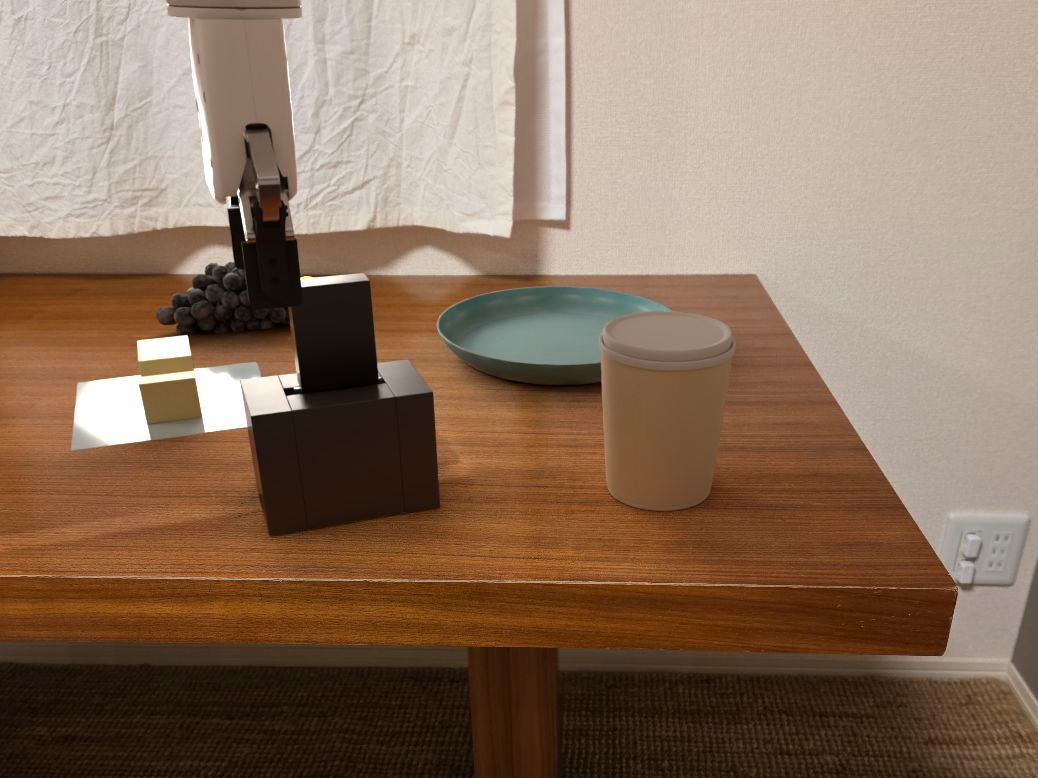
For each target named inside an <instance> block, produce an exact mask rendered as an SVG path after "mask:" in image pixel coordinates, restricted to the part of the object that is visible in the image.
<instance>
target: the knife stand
mask: <svg viewBox="0 0 1038 778" xmlns="http://www.w3.org/2000/svg"><path fill="white" fill-rule="evenodd" d="M377 366H378V377H382V382H383V384H376V385H368V386H360V387H353V388H345V389H337V390H329V391H322V392H314V393H306V394H298V395H295V394H294V388H296V387H300V386H299V384H298V380H297V372H295V373H288V374H279V375H269V376H262V377H260V378H252V379H244V380H240V385H241V391H242V397H243V404H244V410H245V416H246V422H247V427H246V429H247V434H248V440H249V446H250V453H251V458H252V465H253V472H254V477H255V483H256V487H257V491H258V495H257V496H258V499H259V502H260V506H261V511H262V514H263V517H264V521H265V525H266V529H267V532H268V536H269V537H274V536H281V535H286V534H287V535H288V534H292V533H299V532H304V531H305V532H306V531H308V530H316V529H322V528H328V527H333V526H340V525H345V524H351V523H358V522H363V521H368V520H374V519H375V520H376V519H381V518H387V517H392V516H398V515H404V514H409V513H416V512H422V511H428V510H434V509H439V508H441V498H440V497H441V496H440V480H439V464H438V463H439V462H438V449H437V448H438V447H437V430H436V416H435V415H436V414H435V399H434V398H435V397H434V391H433V390H432V389H431V387H430V386H429V384H428V383H427V381H425V379H424V378H423V377H422V375H421V374H420V373H419V371H418V369H416V367H415V366H414V364H413V363H412V362H411V360H410V359H400V360H393V361H391V360H390V361H385V362H377Z"/></svg>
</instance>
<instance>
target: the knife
mask: <svg viewBox="0 0 1038 778" xmlns="http://www.w3.org/2000/svg"><path fill="white" fill-rule="evenodd" d="M301 287H302V297H303V302H302V304H301V305H299V306H294V307H288V311H289V319H290V325H289V326H290V332H291V333H290V334H291V341H292V348H293V356H294V364H295V373H297V380H298V384H299V386H300V387H296V388H294V394H295V395H298V394H306V393H314V392H322V391H329V390H337V389H345V388H353V387H360V386H368V385H376V384H383V382H382V377H378V366H377V363H378V355H377V345H376V343H377V342H376V333H375V324H374V323H375V322H374V313H373V312H374V309H373V299H372V290H371V289H372V288H371V279H369V278H368V277H367V275H366V274H365V272H361V273H349V274H340V275H330V276H329V275H328V276H319V277H317V276H316V277H313V278H307V279H301Z"/></svg>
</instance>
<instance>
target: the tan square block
mask: <svg viewBox="0 0 1038 778" xmlns="http://www.w3.org/2000/svg"><path fill="white" fill-rule="evenodd" d="M138 383H139V389H140V394H141V399H142V403H143V408H144V413H145V417H146V422H147V424H154V423H162V422H170V421H177V420H185V419H192V418H200V417H202V412H201V406H200V401H199V395H198V390H197V384H196V379H195V374H194V371H188V372H180V373H171V374H163V375H154V376H146V377H139V378H138Z"/></svg>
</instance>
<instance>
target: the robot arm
mask: <svg viewBox="0 0 1038 778" xmlns="http://www.w3.org/2000/svg"><path fill="white" fill-rule="evenodd" d="M165 2H166V3H165V4H166V9H167V16H168V17H173V18H174V17H176V18H185V19H188V41H189V52H190V62H191V73H192V81H193V90H194V98H195V106H196V112H197V120H198V127H199V135H200V142H201V151H202V158H203V167H204V175H205V176H204V177H205V181H206V184H207V187H208V189H209V192H210V194H211V197H212V198H213V199H214V200H215V201H216V202H217V203H218V204H220V205H227V198H228V203H229V207H230V208H229V207H228V208H226V211H227V218H228V227H229V232H230V233H229V234H230V240H231V241H230V242H231V251H232V258H233V262H234V264H235V266H236V268H238V269H241V270H242V269H245V276H246V285H247V293H248V301H249V304H250V306H251V307H252V308H253V309H269V308H282V307H294V306H299V305H301V304H302V302H303V297H302V287H301V278H302V277H301V269H300V268H301V267H300V258H299V247H298V246H299V245H298V239H297V238H296V237H295V230H294V225H293V224H294V223H293V219H292V214H291V213H292V212H291V207H290V201H291V200H293V198H294V197H296V195H297V194H298V173H297V172H298V171H297V170H298V169H297V154H296V153H297V152H296V139H295V129H294V125H295V124H294V116H293V115H294V114H293V113H294V112H293V104H292V94H291V83H290V73H289V62H288V53H287V44H286V35H285V27H284V20H288V19H291V20H292V19H300V18H303V8H302V0H165Z"/></svg>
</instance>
